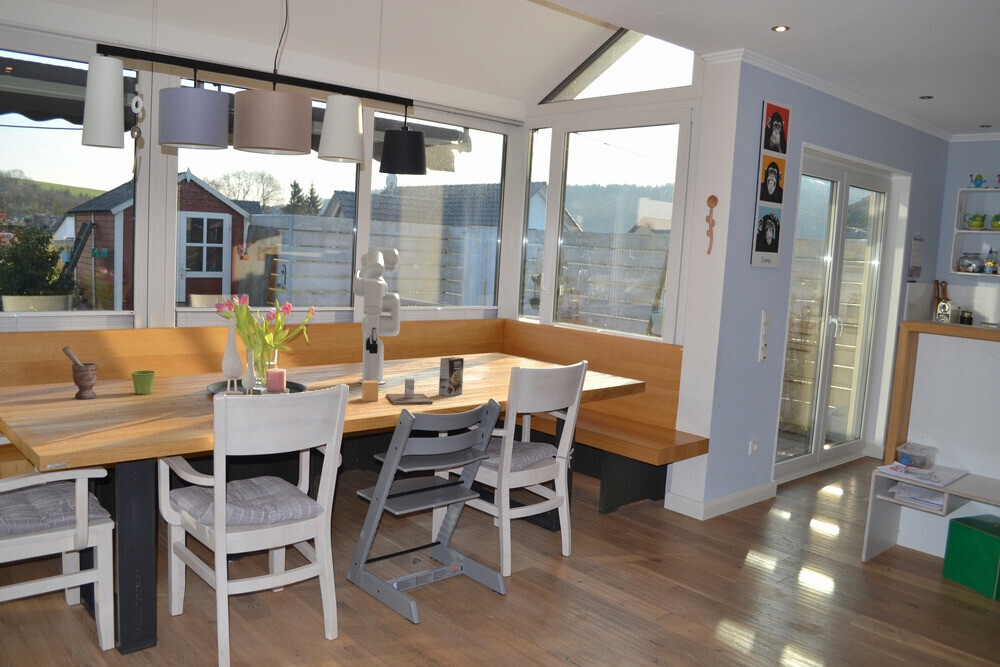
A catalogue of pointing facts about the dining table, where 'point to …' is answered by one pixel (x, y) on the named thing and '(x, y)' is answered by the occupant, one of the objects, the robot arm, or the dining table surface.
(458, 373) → the coffee box
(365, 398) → the light brown block
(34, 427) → the dining table surface
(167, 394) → the dining table surface
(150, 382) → the plant pot
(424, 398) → the post board
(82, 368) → the mortar and pestle
